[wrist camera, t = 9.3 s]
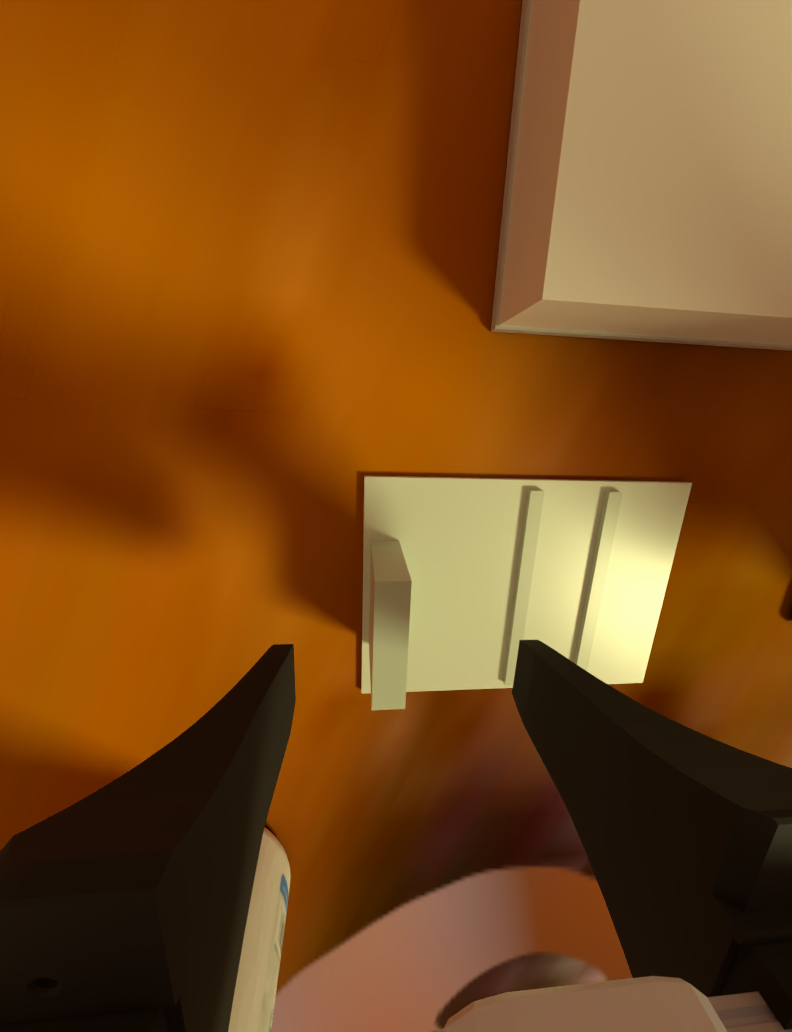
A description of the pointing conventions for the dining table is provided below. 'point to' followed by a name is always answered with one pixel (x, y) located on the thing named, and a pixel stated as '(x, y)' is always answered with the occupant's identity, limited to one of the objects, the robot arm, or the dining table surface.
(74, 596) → the dining table surface
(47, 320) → the dining table surface
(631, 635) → the lid
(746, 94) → the block
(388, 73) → the dining table surface
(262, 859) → the supplement tub
